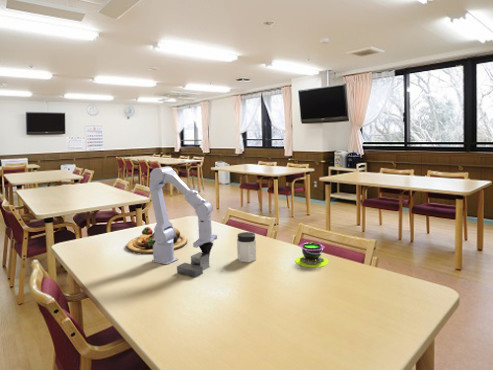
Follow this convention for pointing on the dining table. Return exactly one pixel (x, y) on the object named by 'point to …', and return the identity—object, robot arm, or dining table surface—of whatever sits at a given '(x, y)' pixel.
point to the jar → (246, 247)
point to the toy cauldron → (311, 255)
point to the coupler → (190, 270)
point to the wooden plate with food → (152, 242)
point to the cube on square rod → (200, 260)
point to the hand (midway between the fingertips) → (206, 258)
